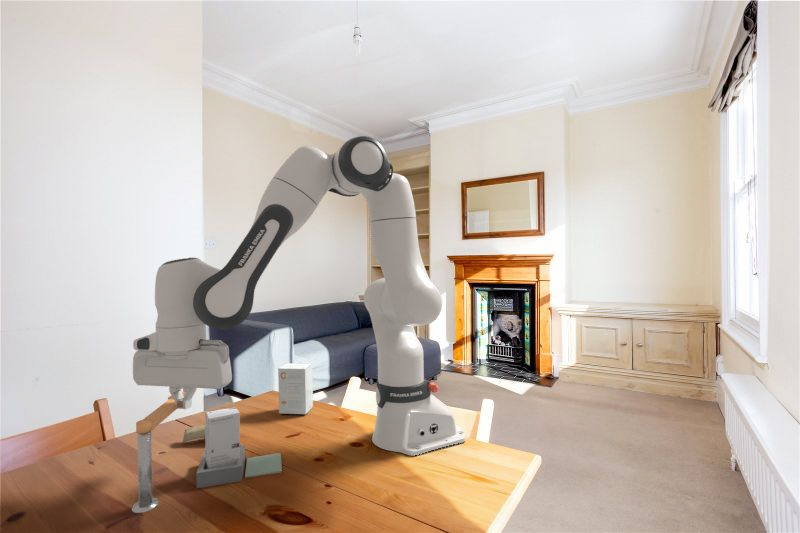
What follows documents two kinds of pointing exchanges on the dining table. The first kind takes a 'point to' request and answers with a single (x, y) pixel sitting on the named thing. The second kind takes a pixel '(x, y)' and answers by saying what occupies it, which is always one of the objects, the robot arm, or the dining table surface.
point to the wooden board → (156, 416)
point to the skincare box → (222, 438)
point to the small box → (295, 388)
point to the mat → (263, 465)
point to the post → (145, 475)
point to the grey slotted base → (220, 472)
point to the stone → (194, 433)
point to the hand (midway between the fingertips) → (183, 408)
